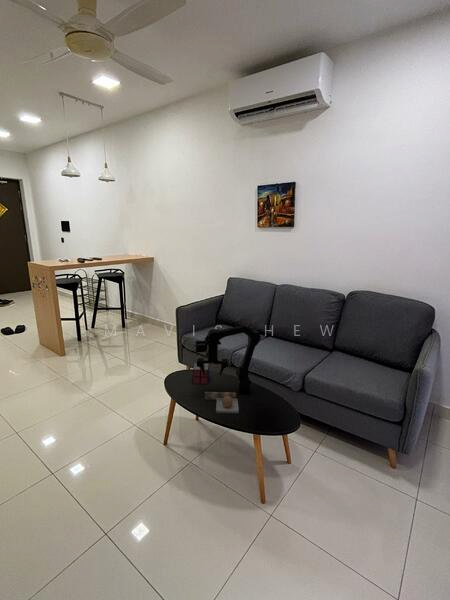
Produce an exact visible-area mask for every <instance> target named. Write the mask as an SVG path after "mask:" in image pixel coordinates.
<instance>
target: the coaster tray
mask: <svg viewBox="0 0 450 600" xmlns="http://www.w3.org/2000/svg"><path fill="white" fill-rule="evenodd" d="M222 399H223V398H217V399H216V404H215V405H216V406H215V407H216V408H215V413H216V414H239V413H240V412H239V400H238V398H236V399H233V403H232V405H231V406H230V407H225V406H224V405H223V403H222Z"/></svg>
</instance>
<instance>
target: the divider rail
mask: <svg viewBox="0 0 450 600" xmlns="http://www.w3.org/2000/svg"><path fill="white" fill-rule="evenodd" d="M236 395H237V394H236V392H227V391H226V392H222V391H221V392H220V391H204V399H205V400H217V398H224V397H225V396H230V397H231V398H232V399H237V398H236Z"/></svg>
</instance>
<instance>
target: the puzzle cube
mask: <svg viewBox="0 0 450 600" xmlns="http://www.w3.org/2000/svg"><path fill="white" fill-rule="evenodd" d="M204 366H205V376H204V374H203V371H202V369H201V368H199V366H197V362H196V363H194V364H193V368H192V384H195V385H198V384H199V385H200V384H201V385H208V384H209V379H210V364H204Z"/></svg>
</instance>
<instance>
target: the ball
mask: <svg viewBox="0 0 450 600" xmlns="http://www.w3.org/2000/svg"><path fill="white" fill-rule="evenodd" d="M222 403H223V405H224V406H225V407H230V406H231V405H232V403H233V399H232V398H231V397H230V396H225V397H224V398H223V399H222Z"/></svg>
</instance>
